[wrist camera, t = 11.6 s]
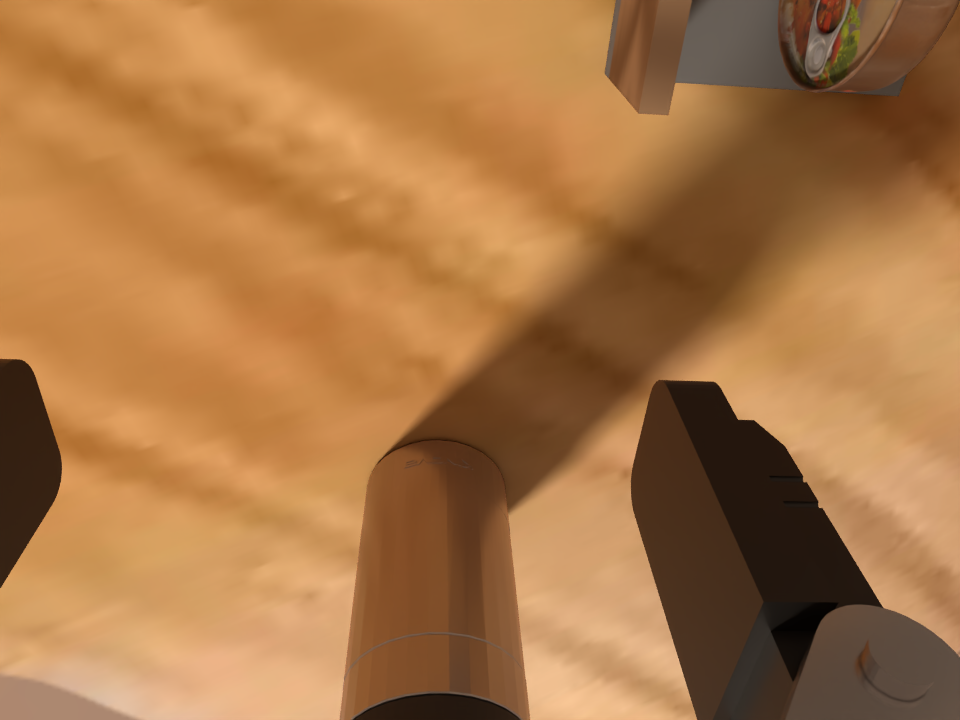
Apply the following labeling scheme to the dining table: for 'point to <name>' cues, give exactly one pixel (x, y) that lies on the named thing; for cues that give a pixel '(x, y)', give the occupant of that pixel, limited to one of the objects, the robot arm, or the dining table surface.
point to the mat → (735, 47)
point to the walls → (649, 52)
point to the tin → (857, 40)
